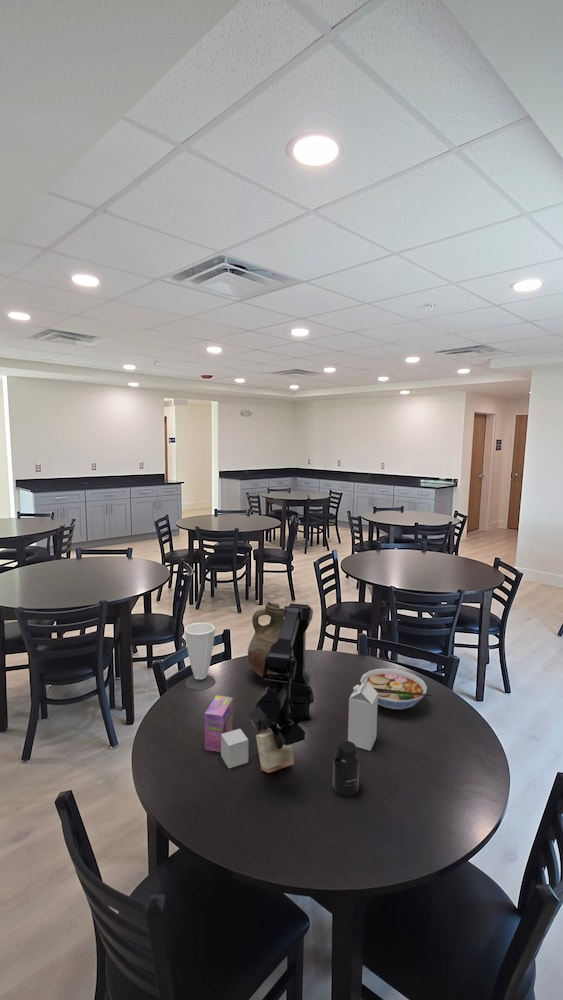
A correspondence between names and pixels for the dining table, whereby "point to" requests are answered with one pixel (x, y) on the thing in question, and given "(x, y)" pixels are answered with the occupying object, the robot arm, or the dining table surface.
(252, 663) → the jug
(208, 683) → the cup
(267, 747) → the birch block
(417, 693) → the ramen bowl
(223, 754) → the grey block
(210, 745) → the box
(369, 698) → the milk carton
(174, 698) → the dining table surface
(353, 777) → the supplement bottle
